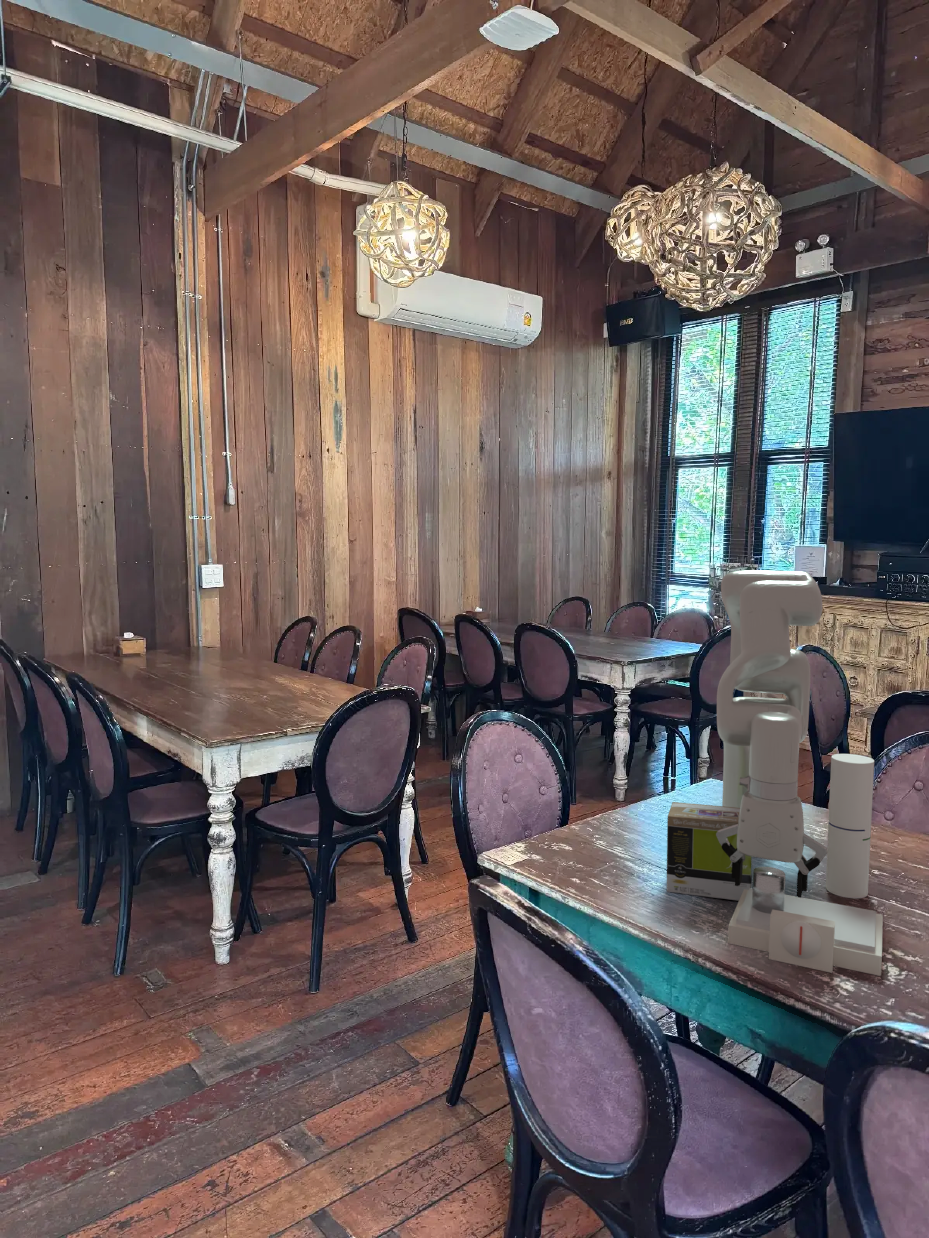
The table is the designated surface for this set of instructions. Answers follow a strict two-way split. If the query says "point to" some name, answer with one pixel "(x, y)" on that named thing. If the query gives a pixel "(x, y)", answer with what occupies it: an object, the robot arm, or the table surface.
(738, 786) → the robot arm
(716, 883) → the tea box
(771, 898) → the shiny metallic cylinder
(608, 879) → the table surface
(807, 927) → the scale
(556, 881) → the table surface
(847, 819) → the cylindrical container
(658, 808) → the table surface
